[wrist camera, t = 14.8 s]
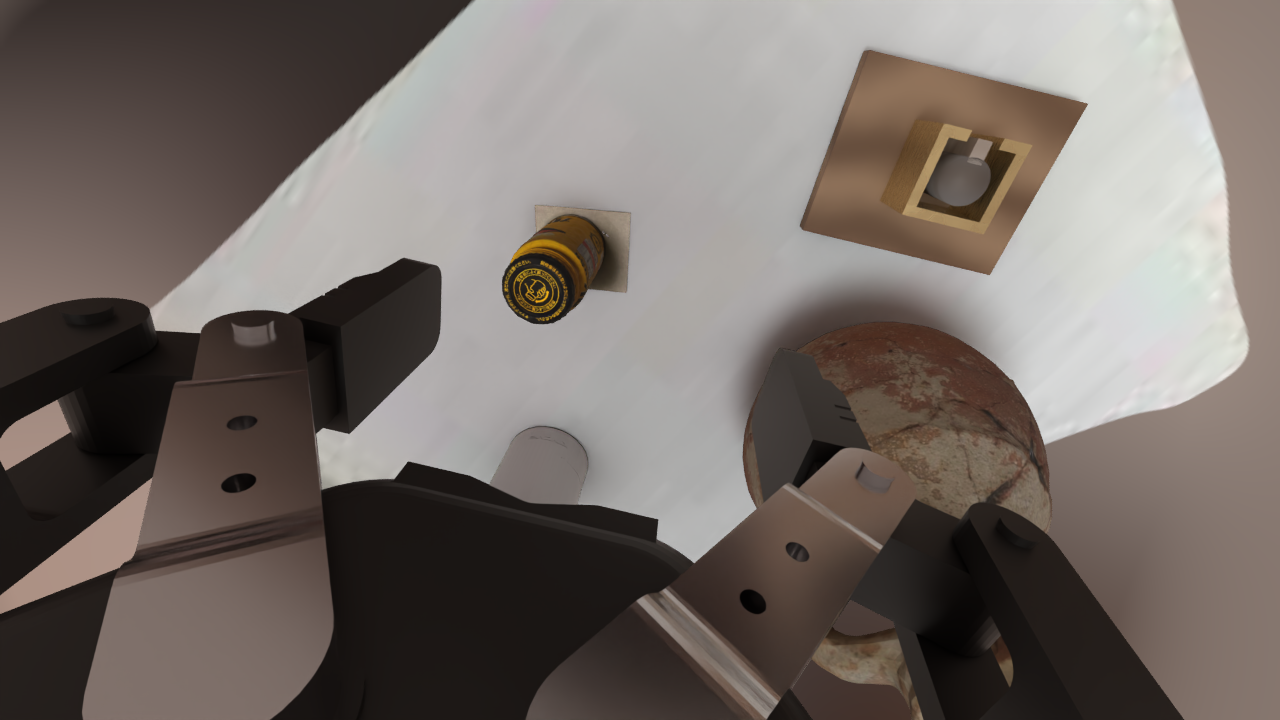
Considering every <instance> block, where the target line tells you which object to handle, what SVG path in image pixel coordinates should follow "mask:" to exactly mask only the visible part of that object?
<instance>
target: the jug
mask: <svg viewBox="0 0 1280 720" xmlns="http://www.w3.org/2000/svg"><path fill="white" fill-rule="evenodd" d="M796 352H800V353H804V354H808V355H812V356H813V357H814V359H815V362H816V364H817V366H818V369H819V371H820V373H821V375H822V378H823V379H825V380H829V381H831V382H832V383H833V384H834V385H835V386H836V387H837V388H838V389H839V390H840V391H841V392H842V393H843V394H844V395H845V397H846V399H847V401H848V403H849V405H850V407H851V411H853V413H854V415H855V417H856V419H857V421H856V423H859V426H860V428H861V430H862V432H863V434H864V436H865V438H866V440H867V442H868V444H869V446H870V448H871V450H872V452H874V453H877V454H879V455H881V456H883V457H885V458H887V459H889V460H890V461H892V462H893V463H895V464H896V465H897V466H899V467H900V468H901V469H902V470H904V471H905V472H906V473H907V474H908V476H909V477H910V478H911V479H912V481H913V482H914V484H915V486H916V489H917V496H916V498H915V499H916V500H918V501H920V502H922V503H924V504H927V505H929V506H931V507H933V508H936V509H938V510H940V511H943V512H945V513H947V514H949V515H952V516H954V517H956V518H958V519H961V518H962V517H963V516H964V514H965V513H966V511H967V510H968V509H969V507H970V506H971V505H973V504H975V503H980V502H984V503H991V504H995V505H999V506H1002V507H1004V508H1007V509H1009V510H1011V511H1013V512H1015V513H1017V514H1019V515H1021V516H1023V517H1024V518H1026V519H1027V520H1029V521H1031V522H1032V523H1033V524H1035V525H1036V526H1037V527H1039V528H1040V529H1041V530H1042V531H1044V532H1045V533H1046V534H1047V533H1048V531H1049V528H1050V523H1051V518H1052V499H1051V496H1050V493H1049V469H1048V464H1047V457H1046V450H1045V447H1044V443H1043V440H1042V437H1041V434H1040V431H1039V428H1038V425H1037V423H1036V420H1035V418H1034V416H1033V414H1032V412H1031V410H1030V408H1029V406H1028V404H1027V402H1026V400H1025V399H1024V397H1023V396H1022V394H1021V393H1020V391H1019V390H1018V388H1017V387H1016V385H1015V384H1014V381H1013V380H1011V379H1009V378H1008V377H1007V376H1006V375H1005V374H1004V373H1003V372H1002V371H1001V370H1000V369H999V368H998V367H997V366H996V365H995V364H994V363H993V362H992V361H990V360H989V359H988V358H986V357H985V356H984V355H982V354H981V353H980V352H978V351H977V350H975V349H974V348H972V347H971V346H969V345H967V344H966V343H964V342H962V341H961V340H959V339H957V338H955V337H953V336H950V335H948V334H946V333H944V332H941V331H939V330H935V329H932V328H929V327H925V326H919V325H914V324H907V323H896V322H874V323H865V324H859V325H854V326H850V327H846V328H842V329H839V330H836V331H833V332H830V333H827V334H825V335H823V336H821V337H819V338H817V339H815V340H813V341H812V342H810V343H808V344H806V345H805V346H803V347H802V348H800V349H799V350H797V351H796ZM762 386H763V385H762ZM761 389H762V387H761ZM761 389H760V391H761ZM760 391H759V393H758V395H757V397H756V399H755V402H754V404H753V406H752V408H751V411H750V414H749V417H748V421H747V425H746V429H745V435H744V444H743V465H744V472H745V478H746V482H747V486H748V490H749V493H750V495H751V498H752V500H753V502H754V504H755V506H756V508H758V507H760V506H761V505H762V504H763V503H764V502H763V496H762V489H761V483H760V477H759V471H758V465H757V459H756V452H755V446H754V440H753V434H752V417H753V411H754V408H755V404H756V402H757V399H758V396H759V394H760ZM990 647H991V649H992V651H993V653H994V655H995V657H996V659H997V662H998V664H999V666H1000V668H1001V670H1002V672H1003V674H1004V676H1005V678H1006V681H1007V683H1008V685H1009V687H1010V686H1011V683H1012V679H1013V664H1012V659H1011V655H1010V653H1009V651H1008V649H1007V647H1006V645H1005V643H1004V641H1003V639H1002V637H1001V636H1000V637H999V638H998V639H997V640H996V641H995V642H994V643H993V644H992V645H991V646H990ZM811 659H812V660H813V661H814V662H816V663H817V664H818V665H819V666H820V667H822V668H824V669H825V670H827V671H829V672H830V673H832V674H834V675H836V676H837V677H839V678H841V679H842V680H846V681H850V682H854V683H869V684H886V685H892V686H894V687H896V688H898V690H899V691H900V692H901V694H902V695H903V697H904V698H905V700H906V702H907V704H908V706H909V708H910V712H911V720H923V717H922V714H921V710H920V707H919V704H918V701H917V697H916V694H915V691H914V688H913V685H912V681H911V678H910V675H909V672H908V668H907V665H906V662H905V659H904V655H903V652H902V649H901V646H900V642H899V639H898V636H897V633H896V630H895V628H893V629H888V630H884V631H880V632H877V633H873V634H867V635H862V636H849V635H844V634H842V633H840V632H838V631H836V630H834V628H833V627H832V628H831V630H830V631H829V633H828V634H827V636H826V637H825V639H824V640H823V642H822V643H821V645H820V646H819V648H818V649H817V651H816V652H815V654H814V655H813V657H812V658H811Z"/></svg>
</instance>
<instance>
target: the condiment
mask: <svg viewBox="0 0 1280 720" xmlns="http://www.w3.org/2000/svg"><path fill="white" fill-rule="evenodd" d="M535 220H536V234H534V235H533V237H532V238H531V239H529V240H528V241H527V242H526V243H524V244H523V245H522V246H521V247H520V248H519V249H518V250H517V252H516V253H515V254H514V256H513V258H512V260H511V263H510V265H509V266H508V268H507V269H506V270H505V274H504V276H503V279H502V291H503V295H504V298H505V299H506V302H507V304H508V306H509V307H510V308H511V309H512V311H514V312H515V314H516V315H517V316H519V317H521V318H522V319H524V320H526V321H528V322H530V323H533V324H549V323H554V322H556V321H558V320H560V319H561V318H562V317H564V316H566V315H567V313H569V311H571V310H572V309H574V308H575V307H576V306H577V305H578V304H579V303H580V302H581V300H582V299H583V297H584V295H585V294H586V292H587V290H588V289H595V290H605V291H614V292H624V293H626V289H627V272H628V253H629V234H630V213H622V212H610V211H599V210H588V209H578V208H566V207H554V206H541V205H535ZM602 231H604V232H605V234H607V235H609V237H607V236H606V235H605V234H603V233H602Z"/></svg>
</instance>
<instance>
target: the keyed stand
mask: <svg viewBox="0 0 1280 720" xmlns="http://www.w3.org/2000/svg"><path fill="white" fill-rule="evenodd" d="M1087 105H1088V104H1087V103H1083V102H1079V101H1075V100H1070V99H1066V98H1062V97H1058V96H1054V95H1050V94H1046V93H1042V92H1038V91H1034V90H1030V89H1026V88H1022V87H1018V86H1014V85H1010V84H1005V83H1001V82H997V81H993V80H989V79H985V78H981V77H977V76H973V75H969V74H965V73H961V72H957V71H953V70H949V69H944V68H940V67H936V66H932V65H928V64H924V63H920V62H916V61H912V60H908V59H904V58H900V57H896V56H892V55H888V54H883V53H879V52H875V51H871V50H868V51H864V52H863V54H862V57H861V60H860V63H859V65H858V68H857V71H856V74H855V76H854V79H853V82H852V85H851V87H850V90H849V93H848V95H847V98H846V101H845V104H844V106H843V109H842V112H841V115H840V117H839V120H838V123H837V126H836V128H835V131H834V134H833V137H832V139H831V142H830V145H829V147H828V150H827V153H826V156H825V158H824V161H823V164H822V167H821V169H820V172H819V175H818V178H817V180H816V183H815V186H814V189H813V191H812V194H811V197H810V199H809V202H808V205H807V208H806V210H805V213H804V216H803V219H802V221H801V224H800V227H801V228H802V229H803V230H805V231H809V232H813V233H817V234H821V235H825V236H829V237H834V238H838V239H842V240H846V241H850V242H854V243H859V244H863V245H867V246H871V247H875V248H879V249H883V250H888V251H892V252H896V253H900V254H904V255H908V256H912V257H917V258H921V259H925V260H929V261H933V262H937V263H942V264H946V265H950V266H954V267H958V268H962V269H966V270H971V271H975V272H979V273H983V274H987V275H990V274H991V272H992V270H993V268H994V267H995V265H996V263H997V261H998V260H999V258H1000V256H1001V255H1002V253H1003V251H1004V249H1005V248H1006V246H1007V244H1008V242H1009V241H1010V239H1011V237H1012V235H1013V234H1014V232H1015V230H1016V228H1017V227H1018V225H1019V223H1020V221H1021V220H1022V218H1023V216H1024V214H1025V213H1026V211H1027V209H1028V208H1029V206H1030V204H1031V202H1032V201H1033V199H1034V197H1035V195H1036V194H1037V192H1038V190H1039V188H1040V187H1041V185H1042V183H1043V181H1044V180H1045V178H1046V176H1047V174H1048V173H1049V171H1050V169H1051V167H1052V166H1053V164H1054V162H1055V161H1056V159H1057V157H1058V155H1059V154H1060V152H1061V150H1062V148H1063V147H1064V145H1065V143H1066V141H1067V140H1068V138H1069V136H1070V134H1071V133H1072V131H1073V129H1074V127H1075V126H1076V124H1077V122H1078V120H1079V119H1080V117H1081V115H1082V114H1083V112H1084V110H1085V108H1086V107H1087ZM915 120H923V121H930V122H938V123H945V124H949V125H953V126H957V127H961V128H965V129H969V130H972V132H971V133H974V134H980V135H986V136H993V137H999V138H1005V139H1009V140H1013V141H1017V142H1021V143H1025V144H1029V145H1033V146H1032V147H1031V149H1030V151H1029V153H1028V155H1027V157H1026V158H1025V160H1024V162H1023V164H1022V166H1021V168H1020V169H1019V171H1018V173H1017V175H1016V177H1015V178H1014V180H1013V182H1012V184H1011V186H1010V188H1009V189H1008V191H1007V193H1006V195H1005V197H1004V198H1003V200H1002V202H1001V204H1000V206H999V208H998V209H997V211H996V213H995V215H994V217H993V219H992V220H991V222H990V224H989V226H988V228H987V229H986V231H985V233H984V234H980V233H976V232H972V231H967V230H963V229H959V228H955V227H951V226H947V225H943V224H939V223H935V222H931V221H927V220H923V219H918V218H914V217H910V216H906V215H902V214H900V213H899V212H897V211H896V210H894V209H892V208H891V207H889V206H887V205H886V204H884V203H882V202H881V201H880V199H881V197H882V195H883V192H884V190H885V188H886V186H887V183H888V181H889V179H890V176H891V174H892V172H893V169H894V167H895V165H896V163H897V160H898V158H899V156H900V153H901V151H902V149H903V146H904V144H905V142H906V140H907V137H908V135H909V133H910V130H911V128H912V126H913V123H914V121H915ZM992 143H993V142H991V141H987V140H983V139H979V138H973V137H969V138H968V140H967V142H966V141H961V140H955V139H950V138H949V139H948V141H947V143H946V145H945V147H944V149H943V151H942V154H941V156H940V158H939V160H938V162H937V164H936V166H935V168H934V171H933V173H932V175H931V177H930V179H929V181H928V183H927V185H926V187H925V190H924V192H923V194H922V196H921V198H920V200H919V201H922V202H926V203H930V204H934V205H938V206H942V207H947V208H949V206H950V205H953V206H965V205H968V204H970V203H973V202H974V201H976V200H977V199H979V198H980V197H981V196H982V195H983V194H984V192H985V191H986V189H987V188H988V185H989V183H990V178H991V173H990V168H989V166H988V165H987V163H986V162H985V161H984V159H985V157H986V155H987V153H988V151H989V149H990V147H991V145H992Z"/></svg>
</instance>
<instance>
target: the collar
mask: <svg viewBox="0 0 1280 720" xmlns="http://www.w3.org/2000/svg"><path fill="white" fill-rule="evenodd" d="M971 132H972V130H969V129H965V128H961V127H957V126H953V125H949V124H945V123H938V122H930V121H923V120H915V121H914V123H913V126H912V128H911V130H910V133H909V135H908V137H907V140H906V142H905V144H904V146H903V149H902V151H901V153H900V156H899V158H898V160H897V163H896V165H895V167H894V169H893V172H892V174H891V176H890V179H889V181H888V183H887V186H886V188H885V190H884V192H883V195H882V197H881V199H880V201H881V202H882V203H884V204H886V205H887V206H889V207H891V208H892V209H894V210H896V211H897V212H899V213H900V214H902V215H906V216H910V217H914V218H918V219H923V220H927V221H931V222H935V223H939V224H943V225H947V226H951V227H955V228H959V229H963V230H967V231H972V232H976V233H980V234H984V233H985V231H986V229H987V228H988V226H989V224H990V222H991V220H992V219H993V217H994V215H995V213H996V211H997V209H998V208H999V206H1000V204H1001V202H1002V200H1003V198H1004V197H1005V195H1006V193H1007V191H1008V189H1009V188H1010V186H1011V184H1012V182H1013V180H1014V178H1015V177H1016V175H1017V173H1018V171H1019V169H1020V168H1021V166H1022V164H1023V162H1024V160H1025V158H1026V157H1027V155H1028V153H1029V151H1030V149H1031V147H1032V146H1033V145H1029V144H1025V143H1021V142H1017V141H1013V140H1009V139H1005V138H999V137H993V136H986V135H980V134H974V133H971ZM969 137H973V138H979V139H983V140H987V141H991V142H993V143H992V145H991V147H990V149H989V151H988V153H987V155H986V157H985V159H984V161H985V162H986V163H987V165H988V166H989V168H990V173H991V178H990V183H989V185H988V188H987V189H986V191H985V192H984V194H983V195H982V196H981V197H980V198H979V199H977V200H976V201H974V202H973V203H970V204H968V205H965V206H953V205H950V206H949V208H947V207H942V206H938V205H934V204H930V203H926V202H922V201H919V200H920V198H921V196H922V194H923V192H924V190H925V187H926V185H927V183H928V181H929V179H930V177H931V175H932V173H933V171H934V168H935V166H936V164H937V162H938V160H939V158H940V156H941V154H942V151H943V149H944V147H945V145H946V143H947V141H948V139H949V138H950V139H955V140H961V141H966V142H967V140H968V138H969Z"/></svg>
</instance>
